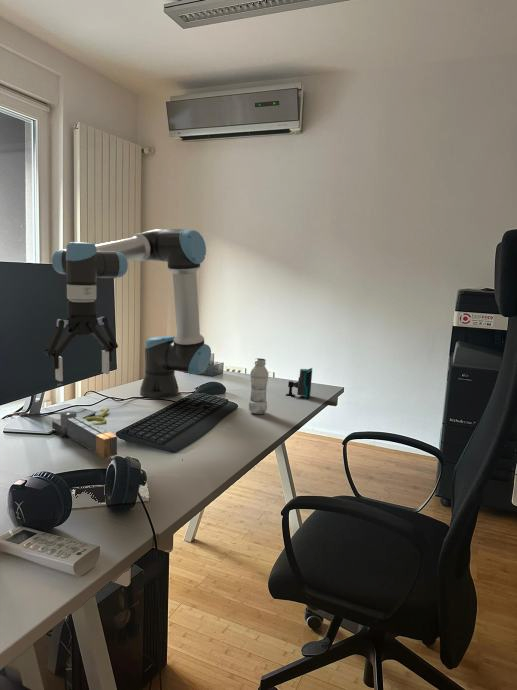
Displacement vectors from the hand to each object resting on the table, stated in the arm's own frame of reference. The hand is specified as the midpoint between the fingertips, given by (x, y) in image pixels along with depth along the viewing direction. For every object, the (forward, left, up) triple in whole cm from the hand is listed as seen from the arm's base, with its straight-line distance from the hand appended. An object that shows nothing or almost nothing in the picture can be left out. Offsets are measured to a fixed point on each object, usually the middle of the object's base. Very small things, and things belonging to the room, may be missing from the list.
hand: (83, 376), depth 132 cm
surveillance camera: (+6, +91, -20) cm, 93 cm away
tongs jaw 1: (+5, -1, -18) cm, 19 cm away
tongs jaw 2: (+5, +1, -18) cm, 19 cm away
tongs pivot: (-12, 0, -20) cm, 23 cm away
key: (-17, +14, -21) cm, 31 cm away
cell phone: (+31, -10, -21) cm, 39 cm away
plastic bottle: (+11, +61, -20) cm, 65 cm away
